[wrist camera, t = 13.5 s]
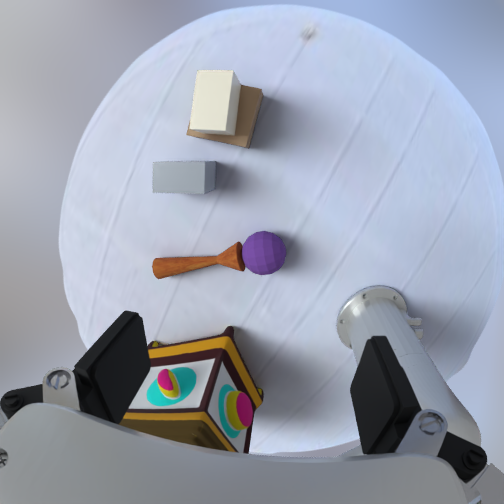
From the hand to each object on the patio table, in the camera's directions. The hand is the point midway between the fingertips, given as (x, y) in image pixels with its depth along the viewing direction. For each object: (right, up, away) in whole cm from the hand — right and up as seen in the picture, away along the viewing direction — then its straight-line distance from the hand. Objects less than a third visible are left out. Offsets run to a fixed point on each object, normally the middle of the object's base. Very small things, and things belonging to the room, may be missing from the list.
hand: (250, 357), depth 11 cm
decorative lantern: (-8, -18, +39) cm, 44 cm away
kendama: (-5, +4, +32) cm, 32 cm away
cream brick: (-4, +22, +21) cm, 31 cm away
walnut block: (-3, +23, +25) cm, 34 cm away
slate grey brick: (-9, +15, +28) cm, 33 cm away
